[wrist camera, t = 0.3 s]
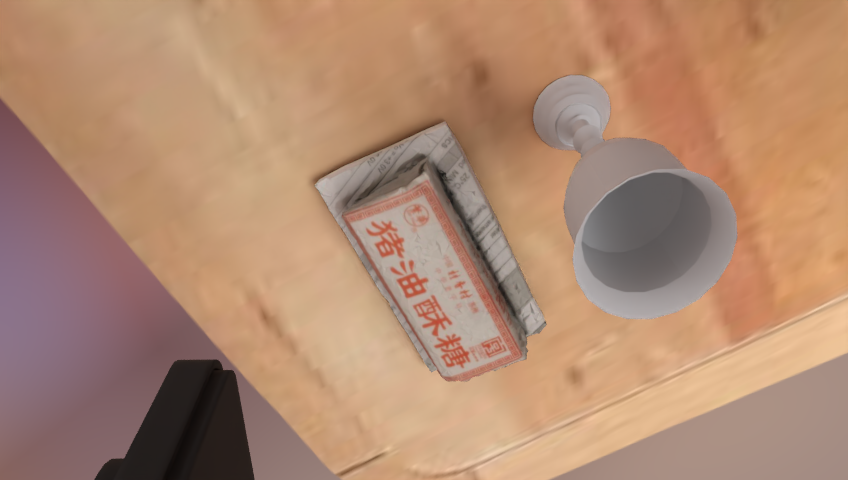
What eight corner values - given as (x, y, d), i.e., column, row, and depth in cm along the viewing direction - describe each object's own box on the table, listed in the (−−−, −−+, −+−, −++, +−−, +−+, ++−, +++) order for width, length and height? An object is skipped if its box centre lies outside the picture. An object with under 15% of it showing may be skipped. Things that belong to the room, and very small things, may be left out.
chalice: (534, 48, 43) (601, 155, 27) (639, 67, 43) (765, 182, 27) (508, 157, 46) (553, 308, 30) (605, 173, 47) (699, 329, 31)
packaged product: (558, 357, 48) (431, 405, 50) (547, 317, 52) (430, 363, 54) (449, 140, 40) (304, 207, 42) (446, 114, 45) (315, 176, 47)
